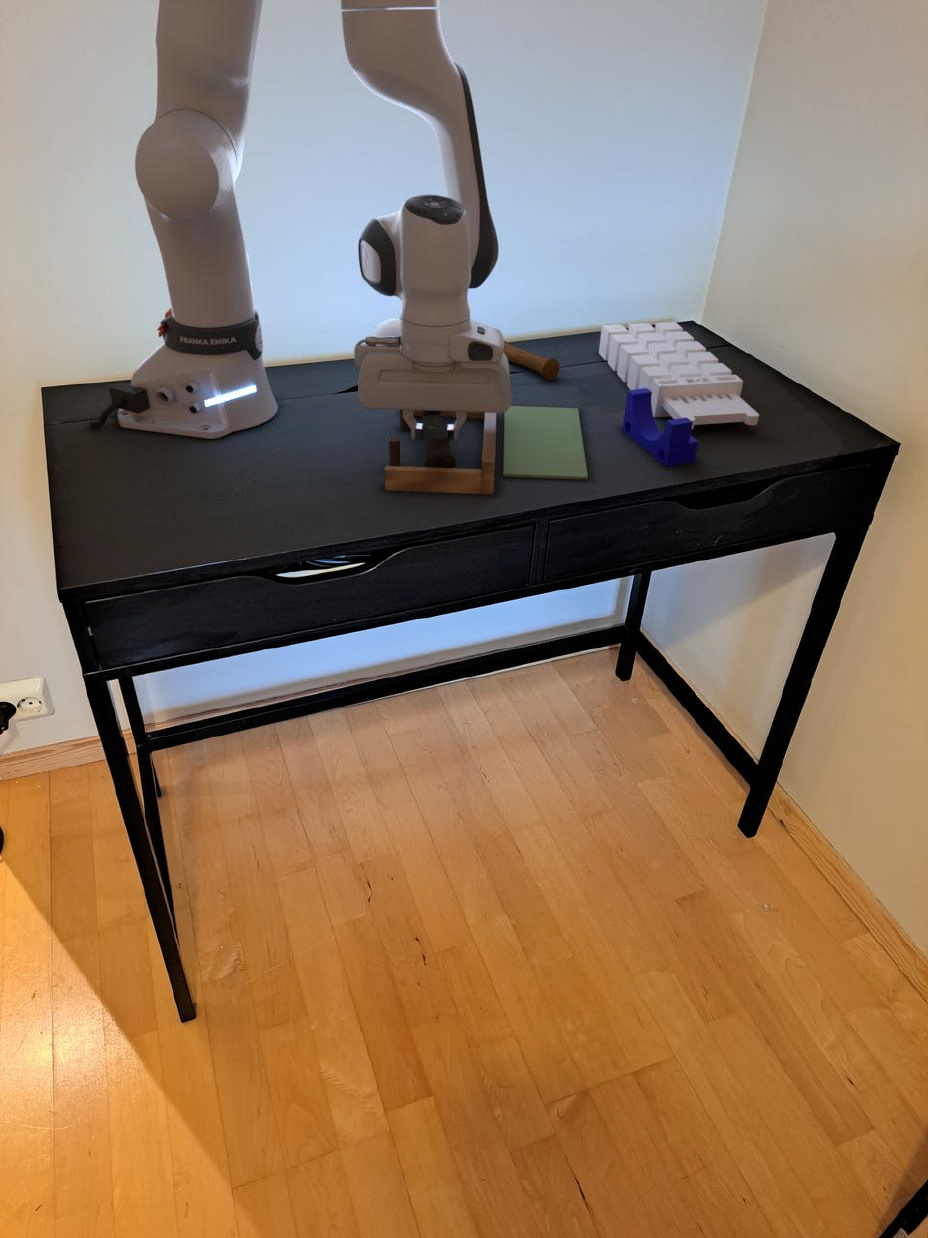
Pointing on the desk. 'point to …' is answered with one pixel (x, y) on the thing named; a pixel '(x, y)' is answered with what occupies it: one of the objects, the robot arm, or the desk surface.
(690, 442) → the cable clip
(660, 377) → the organizer
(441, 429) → the hand tool
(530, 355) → the primitive tool
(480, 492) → the tool rack
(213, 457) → the desk surface
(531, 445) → the mat
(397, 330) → the white seamed ball
